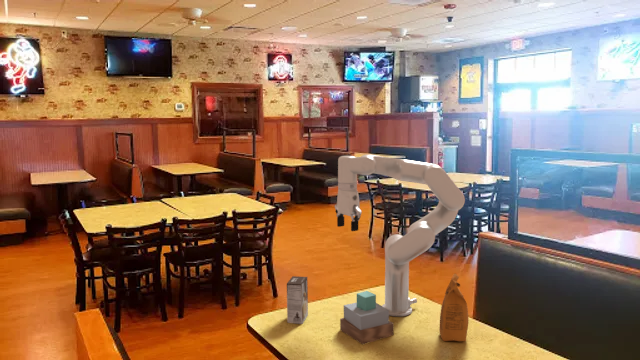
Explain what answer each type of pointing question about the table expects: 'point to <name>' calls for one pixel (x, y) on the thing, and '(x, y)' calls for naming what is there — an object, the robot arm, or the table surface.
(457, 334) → the coffee package
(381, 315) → the tower top
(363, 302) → the teal block
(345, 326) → the tower base
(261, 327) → the table surface
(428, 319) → the table surface
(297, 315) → the coffee box
